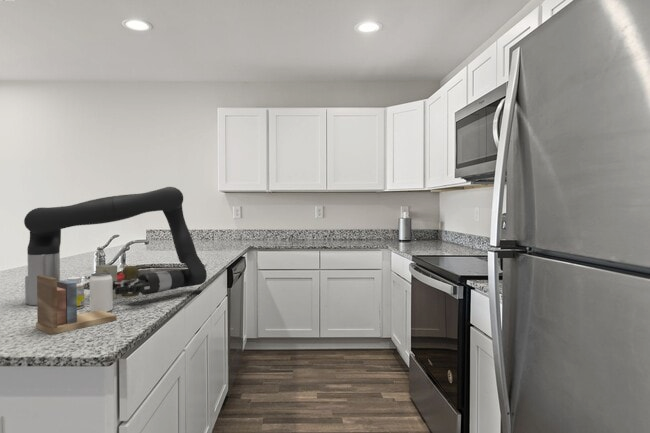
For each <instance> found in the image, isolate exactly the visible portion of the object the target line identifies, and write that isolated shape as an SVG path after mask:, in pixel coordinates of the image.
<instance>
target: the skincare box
mask: <svg viewBox="0 0 650 433" xmlns="http://www.w3.org/2000/svg"><path fill="white" fill-rule="evenodd" d="M95 273H111V276H112V283H113V281H117V273H118V265H115V264H101V265H100V264H99V265H98V264H97V265H95ZM117 297H118V295H117V294H115V290H113V299H117Z"/></svg>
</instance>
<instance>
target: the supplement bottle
mask: <svg viewBox="0 0 650 433" xmlns="http://www.w3.org/2000/svg"><path fill="white" fill-rule="evenodd" d="M66 280H68V281H72V282H75V283H77V310H80V309H83V308H84V307H85V283H83V282H82V277H81V276H71V277H66Z"/></svg>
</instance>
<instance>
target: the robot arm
mask: <svg viewBox="0 0 650 433" xmlns="http://www.w3.org/2000/svg"><path fill="white" fill-rule="evenodd" d="M183 202H184V194H183V192H182V191H181V190H180V189H178V188H177V187H175V186H166V187H162V188H159V189H155V190H150V191H146V192H142V193H130V194H120V195H112V196H106V197H99V198H95V199H90V200H86V201H83V202H78V203H74V204H71V205H65V206H62V205H61V206H55V207H54V206H52V207H37V208H36V207H35V208H34V209H31V210H30V211H29V212H28V213H27V214H26V215H25V216H24V220H23V223H24V224H23V225H24V226H25V228H26V229H27V230H28V231H29V241H28V242H29V243H28V245H27V249H26V251H27V275H26V276H25V277H24V283H25V284H24V288H25V289H24V290H25V291H24V292H25V293H24V295H25V300H24V302H25V304H26V305H29V306H37V276H38V275H44V276H48V277H51V278H55V279H57V281H61V260H60V259H61V253H60V252H61V250H60V248H61V243H62V241H61V240H62V239H61V238H62V230H63V229H66V228H71V227H78V226H87V225H88V226H89V225H91V226H92V225H101V224H108V223H113V222H119V221H124V220H126V219H130V218H134V217H136V216H139V215H141V214H145V213H151V212H161V211H162V212H163V214H164V216H165V218H166V221H167V224H168V225H169V230H170V233H171V237H172V241H173V245H174V248H175V249H174V250H175V251H176V255H177V258H178V261H179V262H180V263H181V264H184V265H185V266H186V267H187V268H185V269H180V270H178V269H173V270H172V269H171V270H164V271H163V270H160V271H153V272H152V271H151V272H146V273H145V272H144V273H141V274H140V275H138V277H137V280H136V279H131V280H130V279H128V280H121V281H113V283H112V284H113V290H115V294H117V296H119V295H122V294H124V293H127V292H128V293H129V294H130V293H133V294H136V293H139V294H141V295H142V296H143V295H144V296H147V295H151V294H152V295H153V294H157V293H163V292H167V291H172V290H176V289H179V288H185V287H186V288H187V287H192V286H193V287H194V286H199V285H202V284H204V283H205V282H206V280H207V278H208V275H207V269H206V267H205V265H204V264H203V262H202V260H201V259H200V257H199V256H198V253H197V250H196V246H195V244H194V241H193V238H192V235H191V233H190V231H189V228H188V226H187V223H186V220H185V217H184V216H185V215H184V210H183ZM117 284H120V286H117Z"/></svg>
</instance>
